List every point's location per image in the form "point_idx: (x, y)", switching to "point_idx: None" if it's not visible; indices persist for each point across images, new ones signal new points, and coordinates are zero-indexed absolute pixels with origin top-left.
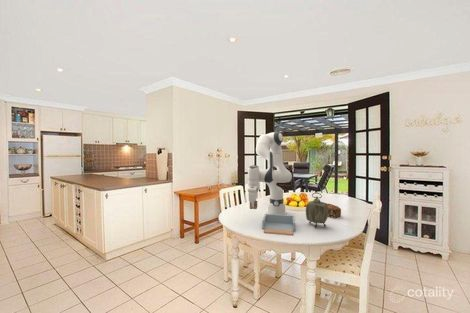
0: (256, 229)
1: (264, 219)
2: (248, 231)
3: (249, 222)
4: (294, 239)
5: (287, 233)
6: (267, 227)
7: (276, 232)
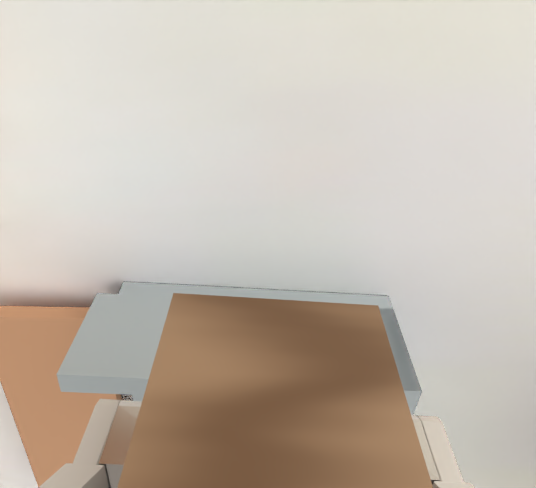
0: (131, 217)
1: (124, 393)
2: (16, 123)
3: (415, 101)
4: (12, 475)
5: (35, 472)
6: None
7: (17, 411)
